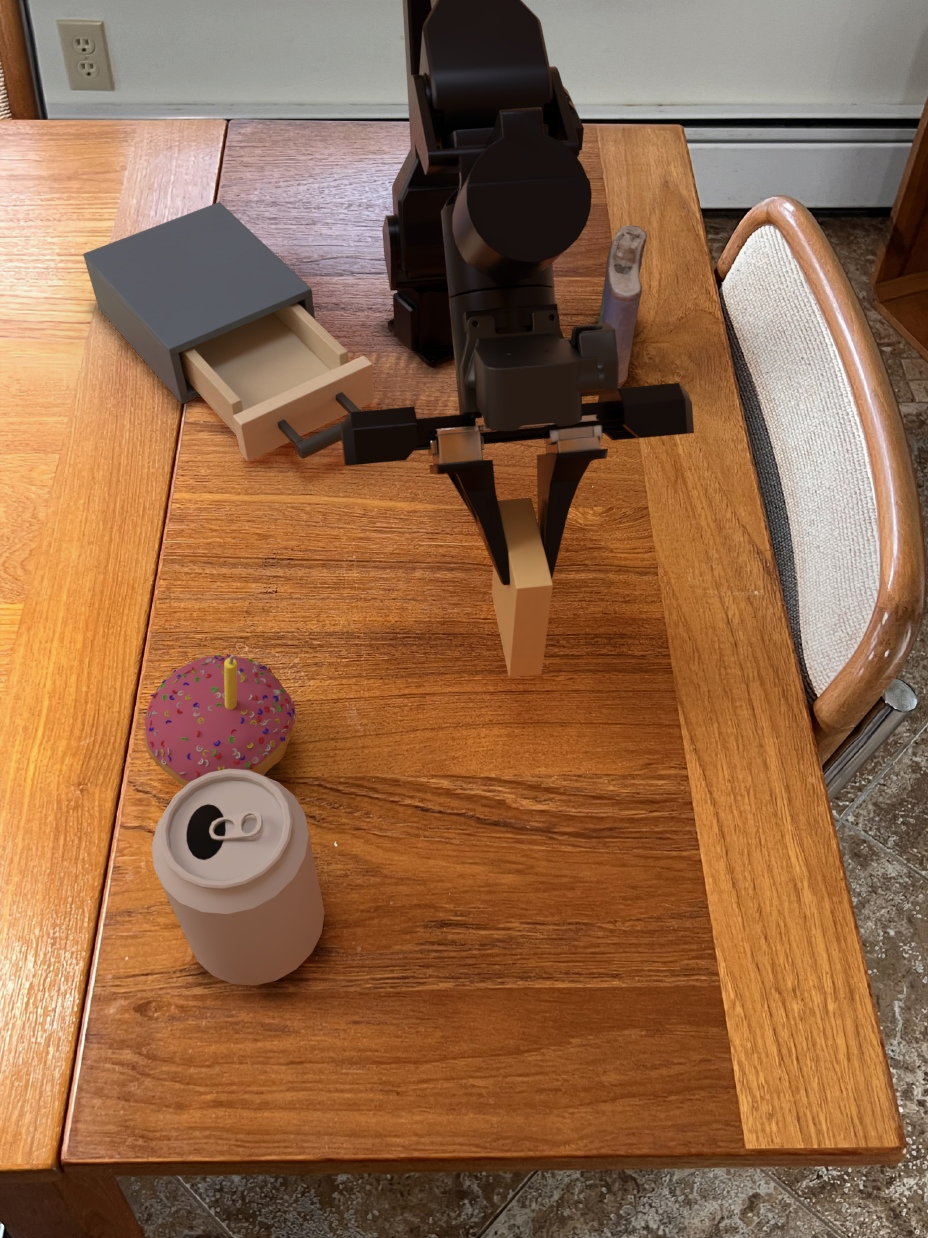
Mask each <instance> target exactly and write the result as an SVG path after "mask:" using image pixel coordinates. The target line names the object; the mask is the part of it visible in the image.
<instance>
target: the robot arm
mask: <svg viewBox="0 0 928 1238" xmlns="http://www.w3.org/2000/svg"><path fill="white" fill-rule="evenodd" d="M402 14H403V15H402V16H403V33H404V50H405V69H406V85H407V103H408V105H407V106H408V122H409V138H410V139H409V140H410V147H409V148H410V149H409V151H408V153H407V155H406V157H405V159H404V161H403V163H402V165H401V167H400V169H399V171H398V173H397V175H396V177H395V179H394V181H393V183H392V186H391V197H392V214H388V215H387V214H386V215H385V216H384V221H383V226H382V229H381V231H382V245H383V256H384V261H385V262H384V263H385V268H386V273H387V280H388V285H389V291H390V292H393V291H395V292H394V293H393V295H392V310H393V312H392V313H393V317H392V318H391V319H389V320H388V321H387V329H388V330H389V332H391V334H393V335H394V337H395V338H397V339H398V341H400V343H402V344H403V345H404V346H405V347H406V348H407V349H408V350H410V351H411V352H412V353H414V354H415V356H417V357H418V358H419V359H420V360H421V361H422V362H423V363H425V364H426V365H427V366H428V367H430V368H436V367H438V366H441V365H443V364H444V363H446V362H448V361H451V360H452V359H454V367H455V368H454V369H455V380H456V390H457V391H456V392H457V401H458V411H459V412H458V413H459V414H451V415H439V416H430V417H419V418H417V414H416V408H415V406H413V405H412V406H404V407H403V406H402V407H392V408H381V409H379V408H378V409H369V410H366V411H364V410H361V411H357V412H350V413H348V414H347V415H346V417H345V418H344V420H342V421H343V422H342V421H341V422H342V423H341V426H340V428H341V438H342V440H341V445H342V455H343V466H344V467H348V466H349V467H350V466H359V465H360V466H361V465H370V464H381V463H391V462H403V461H407V459H409V457H410V456H411V455H412V454H413V452H417V451H419V452H420V451H427V455H428V456H432V464H429V465H428V467H429V474H430V475H447V476H448V478H449V479H450V481H451V483H452V485H453V486H454V488H455V490H456V491H457V493H458V495H459V497H460V498H461V500H462V501H463V503H464V505H465V507H466V508H467V510H468V512H469V513H470V515H471V518H472V519H473V521H474V524H475V526H476V528H477V531H478V534H479V535H480V538H481V540H482V542H483V545H484V547H485V549H486V552H487V553H488V554H487V555H488V557H489V558H490V561H491V562H492V566H493V565H494V568H495V570H496V572H497V574H498V577H499V579H500V581H501V583H502V584H503V585H510V571H509V555H508V550H507V545H506V540H505V535H504V530H503V525H502V520H501V515H500V510H499V505H498V501H499V500H498V496H497V491H496V490H497V489H496V482H495V481H496V480H495V471H494V469H495V468H494V459H484V451H485V445H494V444H503V443H515V442H526V441H535V440H536V441H537V440H543V444H544V445H545V453H540V454H536V487H537V488H536V491H537V493H536V494H537V498H536V499H537V523H538V527H539V531H540V535H541V539H542V543H543V547H544V551H545V555H546V559H547V563H548V567H549V571H550V575H551V579H552V580H553V577H554V572H555V569H556V565H557V561H558V558H559V557H558V556H559V554H560V553H559V552H560V548H561V545H562V541H563V536H564V531H565V528H566V524H567V519H568V515H569V512H570V508H571V505H572V502H573V500H574V498H575V495H576V493H577V490H578V487H579V484H580V482H581V480H582V478H583V477H584V474H585V473H586V471H587V469H588V467H589V466H590V464H591V463H592V462H593V461H596V460H604V459H607V458H608V452H609V448H602V447H601V440H602V439H604V438H603V437H604V436H603V434H604V435H605V437H607V438H608V439H610V440H611V441H623V440H633V439H634V440H635V439H645V438H657V437H668V436H677V435H688V434H694V433H695V427H694V426H695V425H694V412H693V410H694V409H693V402H692V399H691V397H690V394H689V392H688V391H687V390H686V389H685V388H684V386H683V385H682V384H681V383H679V382H671V383H659V384H651V385H650V384H649V385H637V386H627V387H620V388H618V381H619V361H618V351H617V342H616V332H615V328H613V327H612V326H611V325H610V324H609V323H604V324H598V323H594V324H593V323H592V324H581V325H574V327H572V330H571V337H569V338H568V337H567V338H565V337H564V334H563V332H562V329H561V319H560V318H561V317H560V314H559V311H558V310H559V309H558V303H557V302H556V291H555V277H554V264H553V263H554V262H555V261H556V260H557V259H558V258H560V257H561V256H562V255H563V254H564V253H565V252H566V251H567V250H568V249H570V247H571V246H572V245H573V244H574V243H576V241H577V240H578V239H579V238H580V237H581V234H582V232H583V231H584V229H585V227H586V225H587V223H588V220H589V216H590V215H591V210H592V195H593V194H592V186H591V181H590V179H589V178H588V176H587V173H586V171H585V168H584V166H583V164H582V163H581V161H580V159H579V156H580V152H581V151H583V145H584V144H583V142H584V134H585V133H584V132H585V127H584V125H583V122H582V120H581V118H580V115H579V113H578V111H577V109H576V106H575V104H574V102H573V99H572V98H571V95H570V93H569V91H568V89H567V88H566V87H565V86H564V84H563V81H562V78H561V74H560V71H559V68H558V66H557V67H556V66H555V65H553V66H552V65H551V66H550V61H549V56H548V51H547V46H546V42H545V41H546V40H545V36H544V31H543V26H542V21H541V20H540V19H539V17H538V16H537V15H536V14H535V13H534V11H532V9H530V8H529V6H527V4H526V3H525V2H524V1H523V0H402ZM596 396H598V398H597V401H596V402H584V403H583V398H585V397H596ZM477 419H483V423H484V424H482V425H481V424H479V425H477V422H476V420H477Z"/></svg>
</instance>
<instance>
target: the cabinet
mask: <svg viewBox="0 0 928 1238" xmlns="http://www.w3.org/2000/svg"><path fill="white" fill-rule="evenodd" d="M82 256H83V258H84V262H85V266H86V269H87V273H88V277H89V280H90V283H91V287H92V290H93V294H94V297H95V300H96V304H97V308H98V310H99V311H100V312H101V313H102V314H103V315H104V317H105V318H106V319H107V320H108V321H109V322H110V324H111V325H112V326H113V327H114V328H115V329H116V330H117V332H118V333H119V334H120V335H121V336H122V337H123V338H124V339H125V341H126V342H127V343H128V344H129V345H130V346H131V348H132V349H133V350H134V351H135V353H136V354H138V356H139V357H140V358H141V359H142V360H143V362H145V364H146V365H147V366H148V367H149V368H150V369H151V371H153V373H154V374H155V375H156V376H157V377H158V378H159V379H160V381H161V382H162V383H163V384H164V385H165V387H166V388H167V389H168V390H169V391H170V392H171V394H172V395H173V396H174V397H175V398H176V399H177V401H179V403H180V404H181V405H183V404H186V403H188V402H190V401H192V400H195V399H198V398H199V397H202V396H201V395H200V394H199V393H198V392H197V391H196V390H195V388H194V387H193V386H192V385H191V384H190V383H189V382H188V381H187V379H186V378H185V377H184V375H183V370H182V366H181V362H180V357H179V352H182V351H184V350H186V349H189V348H191V347H193V346H196V345H198V344H200V343H203V342H205V341H207V340H210V339H212V338H214V337H217V336H219V335H221V334H224V333H226V332H228V331H231V330H233V329H235V328H238V327H240V326H242V325H245V324H247V323H249V322H252V321H254V320H256V319H259V318H261V317H263V316H266V315H268V314H270V313H273V312H275V311H277V310H280V309H282V308H284V307H287V306H289V305H291V304H294V303H296V302H297V303H298V304H299V305H300V306H301V307H302V308H303V309H304V310H305V311H307V312H308V313H309V314H310V315H311V316H312V317H313V318H314V319H315V320H316V316H315V314H316V313H315V307H314V305H315V304H314V298H313V297H314V296H313V289H312V287H311V286H310V285H308V283H307V282H305V280H303V279H302V278H301V277H300V276H299V275H298V274H297V273H296V272H294V270H293V269H292V268H290V266H289V265H287V264H286V262H284V261H283V260H282V258H280V257H279V256H277V254H276V253H274V251H272V249H270V248H269V247H268V246H267V245H266V244H265V243H264V242H263V241H262V240H261V239H259V237H258V236H256V234H255V233H253V231H251V230H250V229H249V228H248V227H247V226H246V225H245V224H244V223H243V222H242V221H240V219H238V217H236V215H234V214H233V213H232V212H231V211H230V210H229V209H228V208H227V207H226V205H223V204H222V203H221V201H218V202H216V203H213V204H209V205H208V206H205V207H202V208H199V209H198V210H194V211H192V212H190V213H187V214H184V215H181V216H179V217H176V218H174V219H171V220H168V221H166V222H162V223H160V224H158V225H155V226H152V227H149V228H146V229H144V230H142V231H139V232H136V233H134V234H131V235H128V236H126V237H123V238H120V239H118V240H116V241H113V242H110V243H108V244H105V245H102V246H100V247H96V248H94V249H91V250H89V251H87V252H84V253H82Z"/></svg>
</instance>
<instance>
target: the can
mask: <svg viewBox="0 0 928 1238" xmlns="http://www.w3.org/2000/svg"><path fill="white" fill-rule="evenodd" d="M151 855H152V864H153V870H154V872H155V873H156V876H157V879H158V880H159V882H160V885H161V886H162V887H161V888H162V889H163V891H164V893H165V895H166V897H167V900H168V902H169V904H170V906H171V908H172V910H173V913H174V915H175V918H176V920H177V922H178V924H179V926H180V928H181V930H182V932H183V934H184V937H185V939H186V941H187V943H188V945H189V947H190V949H191V951H192V953H193V955H194V957H195V960H196V962H197V963H198V964H199V965H201V966H202V967H203V968H204V969H205V970H206V971H207V972H208V973H209V974H211V976H212V977H215V978H217V979H219V980H222V981H224V982H227V983H229V984H231V985H241V986H253V987H254V986H260V985H263V984H266V983H272V982H275V981H276V982H277V981H278V980H279V979H281V978H283V977H285V976H287V975H288V974H290V973H292V972H294V971H295V970H297V969H298V968H299V967H300V966H301V965H302V964H303V963H304V961H306V960H307V958H308V957H309V956H310V955H311V954H312V953H313V952H314V949H315V947H316V946H317V944H318V941H319V940H320V937H321V936H322V932H323V926H324V920H325V906H324V902H323V896H322V890H321V886H320V881H319V876H318V871H317V867H316V866H317V865H316V861H315V857H314V851H313V847H312V841H311V836H310V831H309V826H308V821H307V816H306V813H305V811H304V809H303V808H302V806H301V804H300V803H299V801H298V799H297V798H296V796H295V794H293V793H292V792H291V791H289V789H287V788H286V787H284V785H282V784H281V783H280V782H279V781H277V780H274V779H271V778H269V777H267V776H265V775H264V776H263V775H260V774H258V773H255V772H252V771H250V770H240V769H225V770H220V771H215V772H210V773H207V774H205V775H203V776H201V777H199V778H197V779H195V780H193V781H191V782H189V783H188V784H187V785H186V786H184V787H182V788H181V789H180V790H179V791H178V792H177V793H175V795H174V796H173V797H172V798H171V800H170V802H169V803H168V805H167V807H166V808H165V810H164V812H163V814H162V815H161V817H160V819H159V820H158V821H157V823H156V827H155V831H154V835H153V840H152V843H151Z"/></svg>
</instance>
